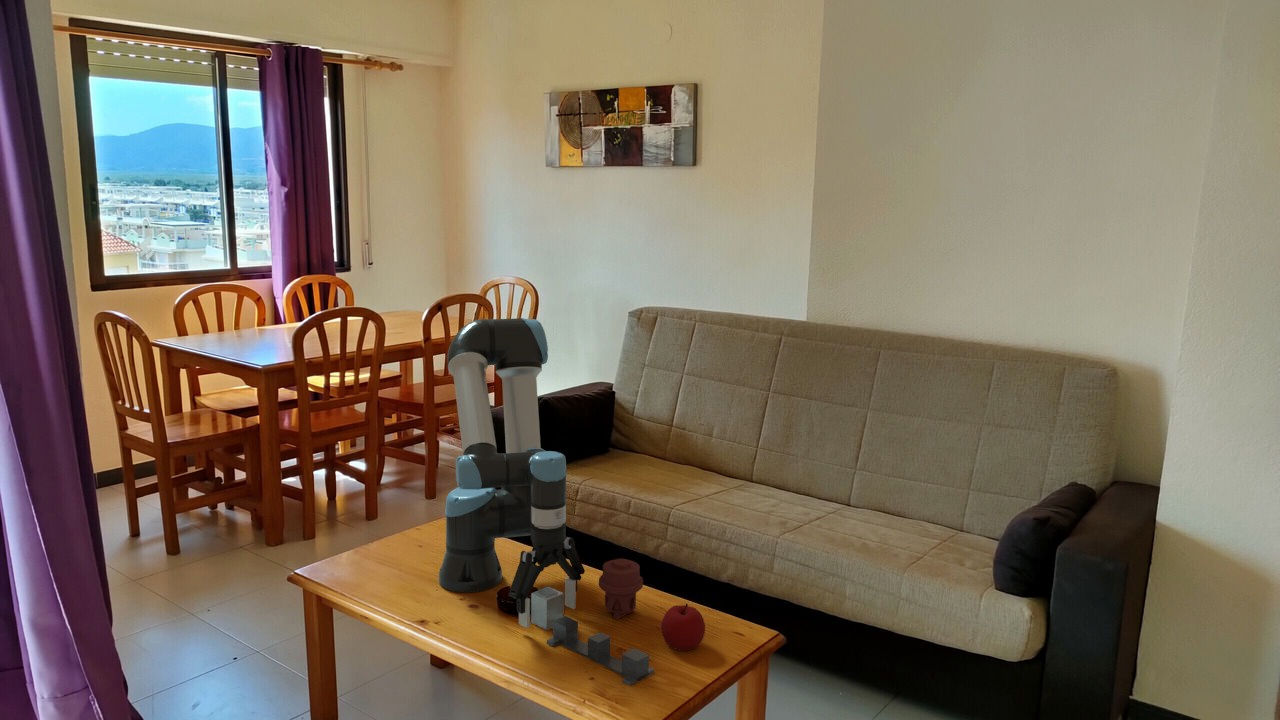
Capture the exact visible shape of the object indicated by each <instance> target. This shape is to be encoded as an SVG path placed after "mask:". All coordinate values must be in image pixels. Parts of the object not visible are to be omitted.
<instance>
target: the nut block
mask: <svg viewBox="0 0 1280 720" xmlns="http://www.w3.org/2000/svg"><path fill="white" fill-rule="evenodd" d="M530 596H531V597H530V612H531V613H530V619H531V620H530V623H531V624H533V625H535V626H536V625H537V627H539V628H541V629H543V630H545V631H549V630H551V629H553V621H554V620H556V619H559V618H561V617H563V616H564V608H565V592H562V591H559V590H557V589H555V588H554V587H550V586H546V587H544V588H542V589H539V590H536V591H534V592H531V595H530Z"/></svg>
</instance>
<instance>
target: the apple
mask: <svg viewBox="0 0 1280 720" xmlns="http://www.w3.org/2000/svg"><path fill="white" fill-rule="evenodd" d="M705 623H706V622H705V620H704V617H703V615H702V614H701V612H700V611H699V610H698V609H696V608H695V607H693V606H692V605H691V606H690V605H688V603H686V604H685V605H684V604H683V605H679V604H678V605H677V604H676V605H673V606H672V607H670V608H669V609H667V611H666V612H665V613H664V616H663V617H662V620H661V624H660V630H661V634H662V637H663V639H664V642H665V643H666V644H667V645H668V646H669V647H670V648H671V649H674V650H677V651H682V652H683V651H690V650H693V649H695V648H698V647H699V645H700V644H701V643H702V641H703V640H704V637H705V634H706V624H705Z"/></svg>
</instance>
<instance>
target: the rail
mask: <svg viewBox="0 0 1280 720" xmlns="http://www.w3.org/2000/svg"><path fill="white" fill-rule="evenodd" d="M546 644H547V645H549V646H550V647H553V648H554V647H556V646H559V645H560V646H563V648H567V649H568V650H571V651H572V652H574V653H577V655H581V656H583V657H584V658H587V659H589V661H593V662H595V663H597V664H599V665H601V666H602V667H605V668H606V669H608V670H610V671H613V672H614V673H616V674H619V675H621V676H622V677H623V678H622V683H623V684H625V685H628V686H629V687H631V686H633V685H635V684H636V683H639V682H640V681H642V680H643V679H645V678H648V677H649V676H651V675H653V674H655V668H653V667H651V666H649V665H650V664H649V663H650V655H649V654H648V653H646V652H643V651H641V650H639V649H638V648H635V647H633V648H631V649H629V650H627V651H625V652H623V653H622V654H621V659H619V658H617V657H615V656H613V655H611V636H609V635H608V634H605V633H603V632H600V631H599V632H597V633H595V634H593V635H591V636H589V637H587V643H586V642H584V641H582V640H580V639H579V621H577V620H575V619H573V618H571V617H569V616H567V615H563V617H561V618H559V619H556V620H554V621H553V628H552V637H551V638H548V639H546Z"/></svg>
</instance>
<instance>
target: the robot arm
mask: <svg viewBox="0 0 1280 720" xmlns="http://www.w3.org/2000/svg"><path fill="white" fill-rule="evenodd" d="M546 335H547V334H546V332H545V329H544V327H543V324H542V323H541V322H540V321H539V320H538V319H534V318H523V317H520V318H487V319H486V318H481V319H480V318H479V319H475V320H472V321H470V322H467V324H465V325H464V326H462V328H460V329H459V331H457V333H456V334H455V335H454V337H453V338H452V340H451V341H450V345H449V347H448V349H447V350H448V352H447V357H446V362H447V363H446V364H447V370H448V372H449V374H450V375H451V377H453V383H454V391H455V392H454V393H455V399H456V408H457V409H456V410H457V416H458V423H459V431H460V440H461V446H462V455H459V456H457V458H456V459H455V480H456V484H457V485H456V486H457V487H456V488H454V489H453V490H451V491H450V492H449V493H448V495H446V499H445V510H444V515H445V553H444V555H443V556H444V557H443V559H442V563H441V567H440V569H439V571H438V583H439V585H440V586H441V587H443V589H446V590H447V591H451V592H457V593H476V592H478V593H479V592H483V591H487V590H490V589H492V588H495V587H496V586H498V585H499V584H500V583H501V582H502V578H503V570H502V567H501V563H500V560H499V557H498V554H497V552H496V549H495V546H496V545H495V539H501V538H502V539H503V538H515V537H525V536H530V540H531V543H532V549H531V550H530V551H526V550H522V551H521V552H520V559H519V563H518V566H517V568H516V571H515V574H514V577H513V580H512V582H511V586H510V589H509V591H508V596H509V597H511V598H513V599H515V600H516V612H517V613H518V625H519V626H521V627H524V628H525V629H529V628H531V627H530V623H531V620H530V619H531V613H530V612H531V597H530V598H529V597H528V596H529V594H530V592H531V590H532V589H533V586H534V585H535V583H536V580H537V579H538V577H539V576H540V574H541V572H543V571H544V570H545V568H549V567H550V566H554V565H556V564H557V565H558V566H559V567H560V568H561V569H562V571H563V572H564V573H565V574H566V575H567V577H565V578H564V607H565V606H566V607H568V608H570V609H572V610H575V609H576V604H577V603H576V602H577V601H576V600H577V592H578V581H581V579H582V575H584V574H585V572H586V570H585V567H584V565H583V563H582V560H581V559H580V556H579V553H578V551H577V549H576V543H575V539H574V538H572V537H568V536H567V535H566V534H567V533H566V524H565V523H566V520H567V519H566V515H567V514H566V513H567V511H566V510H567V507H566V505H567V472H568V468H567V461H566V460H567V459H566V456H565V455H564V454H563V453H561V452H558V451H552V450H548V451H547V450H545V449H543V448H541V433H540V431H541V430H540V416H539V414H540V413H539V400H538V398H539V397H538V384H537V377H538V376H539V374H540V373H541V372H542V371H543V367H542V366H543V365H545V364H547V363H548V359H549V346H548V340H547V336H546ZM488 366H494V367H495V368H494V369H495V374H496V375H497V376H498V377H499V378H500V379H501V381H502V384H501V385H502V400H503V417H504V418H503V419H504V421H503V422H504V437H505V439H504V440H505V453H498V451H497V450H498V449H497V442H496V436H495V429H494V422H493V416H492V410H491V404H490V396H489V390H488V383H487V377H486V371H487V370H488ZM497 488H501V489H497ZM563 551H565V554H566V556H567V557H566V556H565V555H564V554H563ZM567 559H568V560H567Z"/></svg>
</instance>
